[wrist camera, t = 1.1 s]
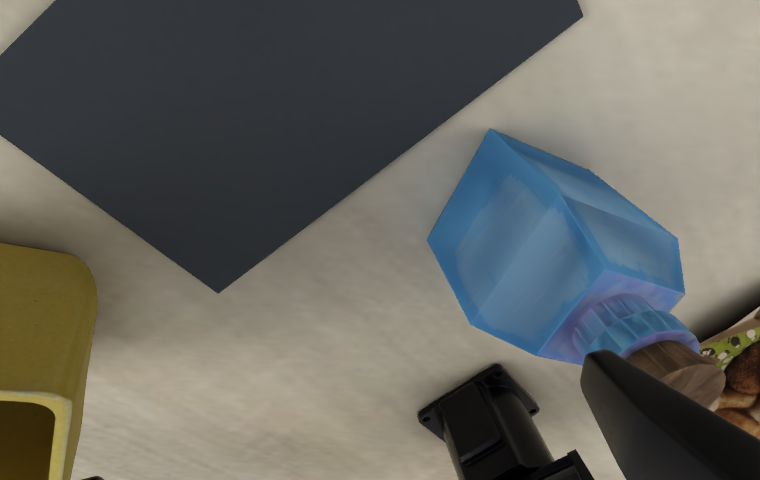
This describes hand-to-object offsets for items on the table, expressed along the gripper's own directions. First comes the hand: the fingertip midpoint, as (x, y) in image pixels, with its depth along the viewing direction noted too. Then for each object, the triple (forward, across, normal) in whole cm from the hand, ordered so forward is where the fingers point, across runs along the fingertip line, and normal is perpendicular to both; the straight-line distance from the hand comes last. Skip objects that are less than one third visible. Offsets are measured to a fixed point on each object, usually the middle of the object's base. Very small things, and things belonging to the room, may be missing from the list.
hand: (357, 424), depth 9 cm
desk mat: (+14, 0, -4) cm, 14 cm away
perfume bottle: (+14, -9, +5) cm, 18 cm away
